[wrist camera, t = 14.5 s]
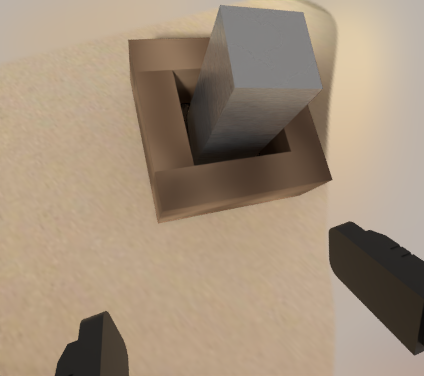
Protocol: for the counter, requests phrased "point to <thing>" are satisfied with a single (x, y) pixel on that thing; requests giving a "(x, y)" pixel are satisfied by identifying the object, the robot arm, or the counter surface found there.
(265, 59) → the grey square pillar
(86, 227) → the counter surface
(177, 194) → the well block
